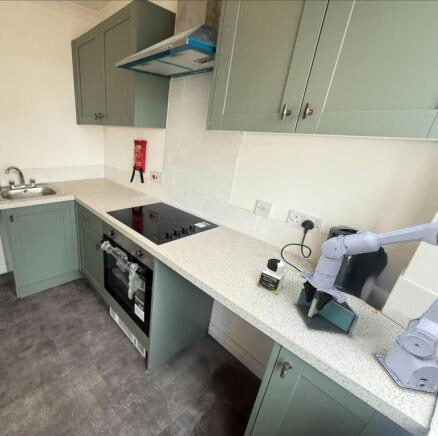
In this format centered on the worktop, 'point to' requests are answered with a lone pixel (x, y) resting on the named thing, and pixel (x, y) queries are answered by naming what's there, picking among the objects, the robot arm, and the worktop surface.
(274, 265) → the medicine bottle
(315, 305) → the teal shelf
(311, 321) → the teal open box
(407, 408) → the worktop surface
